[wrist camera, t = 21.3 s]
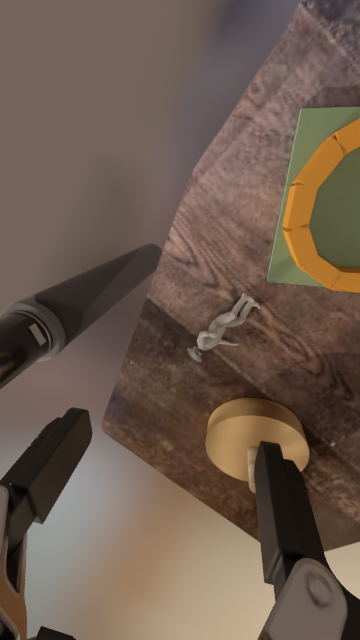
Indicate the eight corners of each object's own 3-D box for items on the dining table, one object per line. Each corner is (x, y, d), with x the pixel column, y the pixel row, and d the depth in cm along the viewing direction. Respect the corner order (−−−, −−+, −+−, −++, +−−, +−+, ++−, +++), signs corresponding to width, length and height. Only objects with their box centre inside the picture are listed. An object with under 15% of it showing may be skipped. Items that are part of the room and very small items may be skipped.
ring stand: (204, 452, 50) (198, 506, 41) (212, 390, 42) (206, 439, 33) (290, 470, 47) (303, 532, 38) (314, 407, 39) (338, 465, 31)
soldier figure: (269, 312, 35) (221, 375, 37) (245, 297, 38) (201, 356, 40) (250, 295, 29) (194, 371, 31) (223, 278, 32) (173, 348, 34)
